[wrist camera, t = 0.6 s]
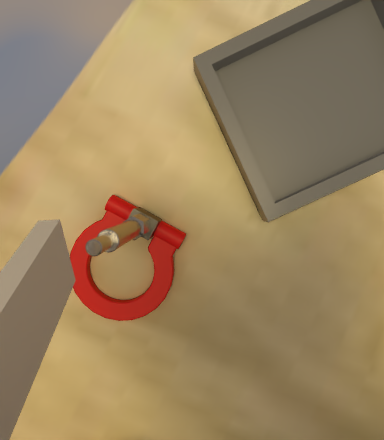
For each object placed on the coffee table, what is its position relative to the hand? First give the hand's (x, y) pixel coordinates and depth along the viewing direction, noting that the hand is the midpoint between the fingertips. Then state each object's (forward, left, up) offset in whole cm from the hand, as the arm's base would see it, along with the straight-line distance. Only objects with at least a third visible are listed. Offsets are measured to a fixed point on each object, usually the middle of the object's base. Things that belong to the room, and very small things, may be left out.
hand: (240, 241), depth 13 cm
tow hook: (0, +8, -15) cm, 17 cm away
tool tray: (+5, -11, -15) cm, 19 cm away
